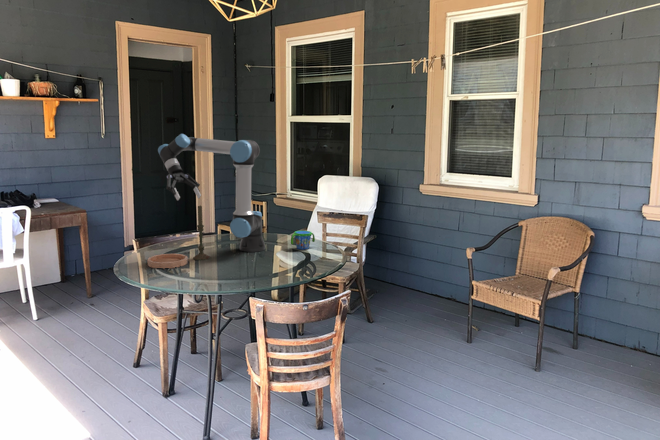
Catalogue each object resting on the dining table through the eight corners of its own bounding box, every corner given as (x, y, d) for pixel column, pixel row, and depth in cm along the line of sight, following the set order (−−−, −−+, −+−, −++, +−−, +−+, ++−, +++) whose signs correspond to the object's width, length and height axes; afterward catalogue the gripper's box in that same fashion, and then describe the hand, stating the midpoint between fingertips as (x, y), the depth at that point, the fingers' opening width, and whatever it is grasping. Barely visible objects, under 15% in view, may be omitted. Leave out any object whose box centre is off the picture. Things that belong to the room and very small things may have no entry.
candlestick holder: (205, 260, 286) (203, 206, 280) (190, 259, 287) (188, 205, 282) (212, 256, 294) (211, 203, 289) (197, 255, 296) (195, 203, 291)
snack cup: (311, 245, 325) (311, 229, 323) (318, 249, 316) (318, 232, 314) (287, 247, 318) (287, 231, 317) (294, 251, 309) (294, 234, 307)
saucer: (188, 258, 291) (188, 253, 290) (186, 267, 271) (185, 262, 271) (150, 259, 287) (150, 254, 286) (145, 269, 267) (145, 263, 267)
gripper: (190, 171, 310) (205, 200, 303) (151, 173, 291) (166, 203, 284) (195, 163, 305) (210, 192, 299) (156, 164, 287) (172, 195, 280)
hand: (189, 198), depth 291 cm, fingers open, 13 cm apart
